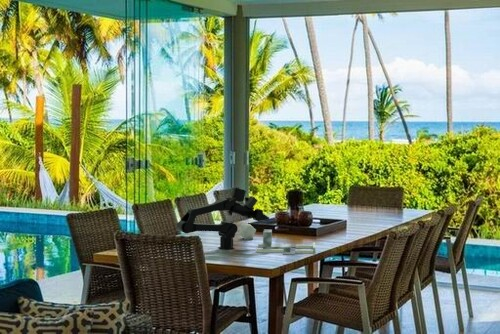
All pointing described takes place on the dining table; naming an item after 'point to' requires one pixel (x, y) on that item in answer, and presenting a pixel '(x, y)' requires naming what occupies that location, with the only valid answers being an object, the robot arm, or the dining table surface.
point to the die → (247, 231)
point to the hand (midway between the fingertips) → (265, 217)
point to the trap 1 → (288, 253)
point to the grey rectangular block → (268, 244)
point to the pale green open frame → (283, 249)
